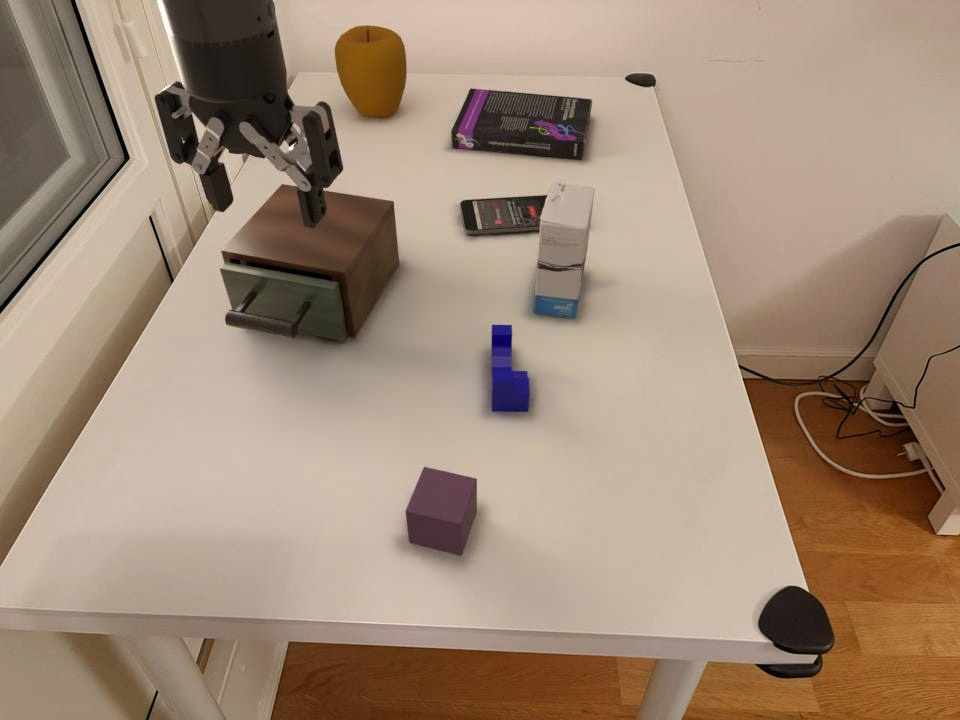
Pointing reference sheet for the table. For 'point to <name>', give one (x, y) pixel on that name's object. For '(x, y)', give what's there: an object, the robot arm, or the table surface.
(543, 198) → the smartphone
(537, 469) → the table surface
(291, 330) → the drawer
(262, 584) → the table surface
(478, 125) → the box
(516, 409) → the cable holder
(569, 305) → the ink box
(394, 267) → the cabinet
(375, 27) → the apple
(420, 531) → the block
